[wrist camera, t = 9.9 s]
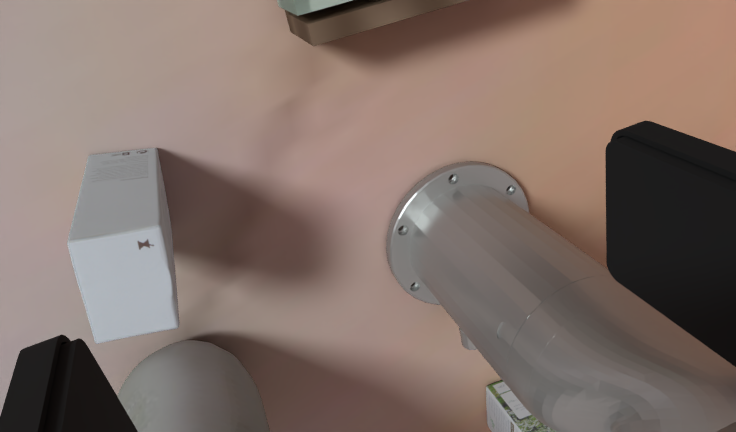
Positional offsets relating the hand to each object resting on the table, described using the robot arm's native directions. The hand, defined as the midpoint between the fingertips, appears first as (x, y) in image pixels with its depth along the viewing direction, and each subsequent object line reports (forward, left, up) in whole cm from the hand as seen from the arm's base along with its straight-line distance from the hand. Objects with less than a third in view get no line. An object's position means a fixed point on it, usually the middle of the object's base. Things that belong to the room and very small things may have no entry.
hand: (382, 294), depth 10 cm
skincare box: (-8, +8, -31) cm, 33 cm away
